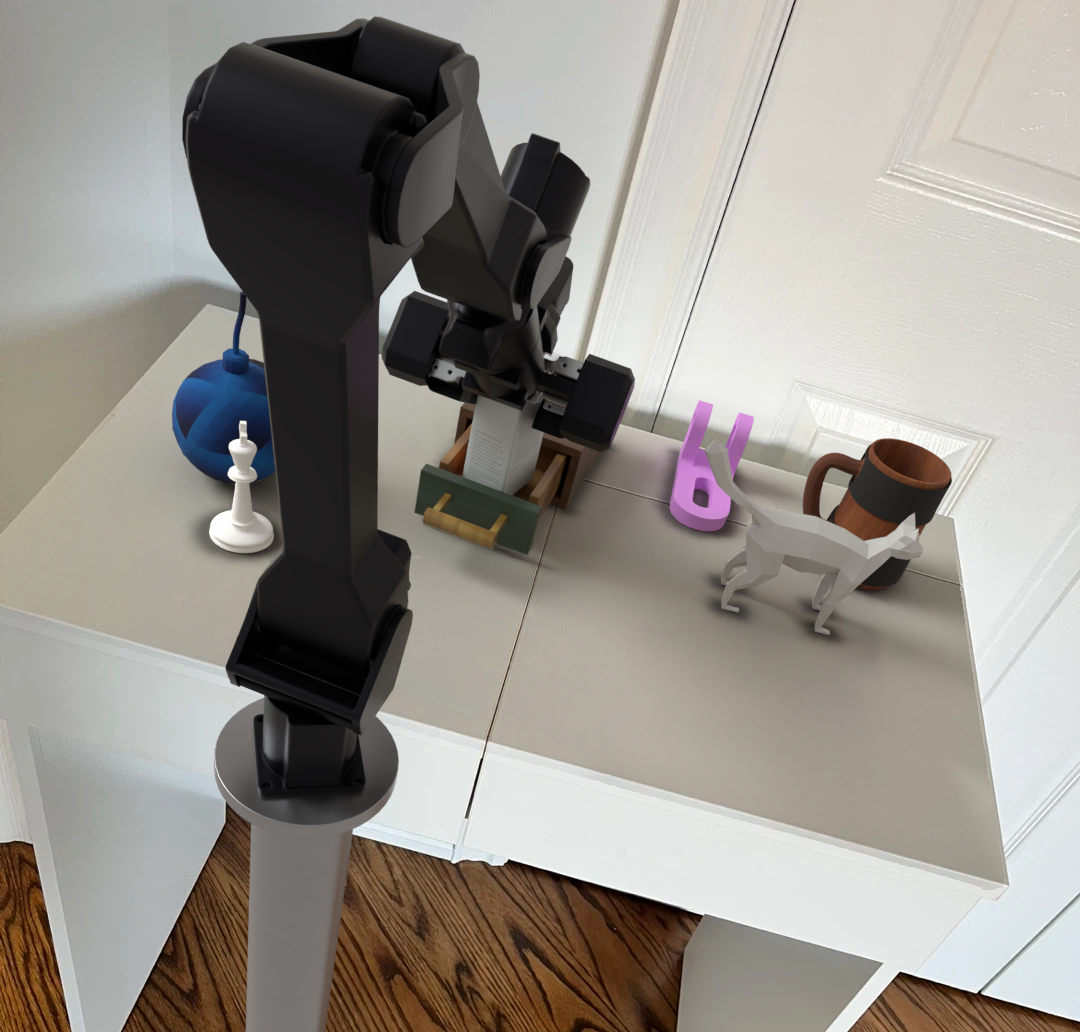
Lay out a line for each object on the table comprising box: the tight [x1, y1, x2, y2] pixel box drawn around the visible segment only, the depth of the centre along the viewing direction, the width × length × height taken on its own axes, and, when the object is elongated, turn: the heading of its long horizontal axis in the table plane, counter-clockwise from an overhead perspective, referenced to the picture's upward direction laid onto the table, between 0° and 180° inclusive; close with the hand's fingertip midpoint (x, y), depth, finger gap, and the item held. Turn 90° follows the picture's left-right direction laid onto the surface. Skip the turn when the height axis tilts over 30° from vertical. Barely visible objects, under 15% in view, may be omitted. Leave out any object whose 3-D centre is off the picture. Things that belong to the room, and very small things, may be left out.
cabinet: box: [453, 402, 601, 510], centre depth 96 cm, size 14×12×6 cm
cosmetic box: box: [462, 351, 561, 496], centre depth 85 cm, size 6×4×12 cm
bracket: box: [668, 399, 755, 532], centre depth 98 cm, size 13×6×7 cm, turn 169°
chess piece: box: [209, 421, 275, 554], centre depth 77 cm, size 5×5×10 cm
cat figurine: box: [704, 438, 924, 636], centre depth 84 cm, size 4×20×14 cm, turn 83°
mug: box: [802, 437, 953, 592], centre depth 93 cm, size 9×12×12 cm
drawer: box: [414, 424, 570, 556], centre depth 87 cm, size 17×10×4 cm, turn 162°
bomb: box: [171, 291, 276, 485], centre depth 81 cm, size 10×11×15 cm
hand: (516, 410), depth 85 cm, fingers closed on cosmetic box, 4 cm apart
